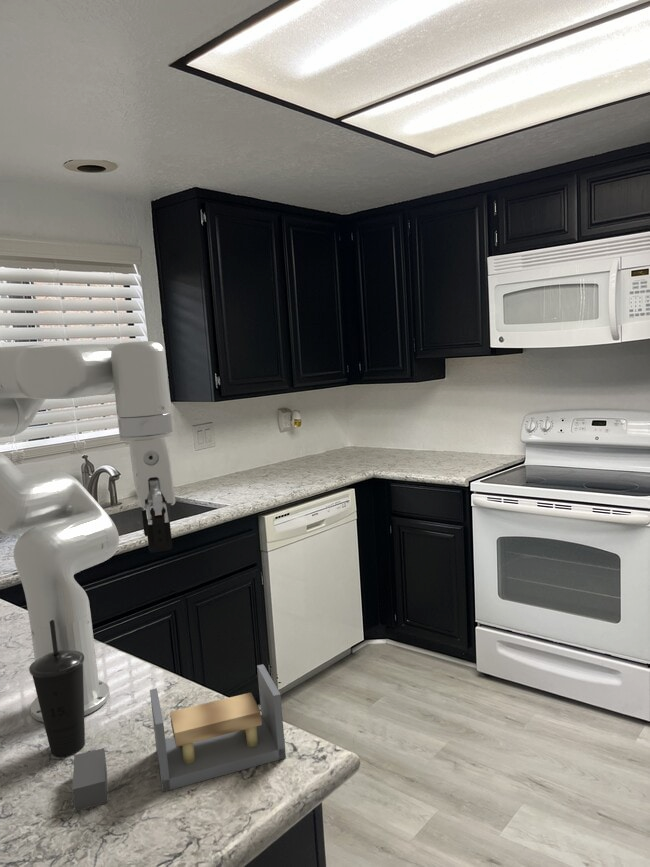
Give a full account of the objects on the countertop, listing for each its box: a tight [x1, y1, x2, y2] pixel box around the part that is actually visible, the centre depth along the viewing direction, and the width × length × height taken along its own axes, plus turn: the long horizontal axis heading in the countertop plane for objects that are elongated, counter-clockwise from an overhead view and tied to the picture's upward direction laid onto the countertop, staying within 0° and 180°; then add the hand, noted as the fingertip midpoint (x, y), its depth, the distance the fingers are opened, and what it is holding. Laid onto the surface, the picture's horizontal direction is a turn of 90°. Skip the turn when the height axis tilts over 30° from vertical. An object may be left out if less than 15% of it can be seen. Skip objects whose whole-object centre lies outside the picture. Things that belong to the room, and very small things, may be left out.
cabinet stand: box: [149, 663, 287, 793], centre depth 93 cm, size 10×17×10 cm, turn 109°
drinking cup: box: [28, 620, 86, 758], centre depth 97 cm, size 8×8×20 cm
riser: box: [71, 747, 108, 812], centre depth 88 cm, size 8×4×3 cm, turn 19°
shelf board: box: [169, 692, 262, 747], centre depth 93 cm, size 12×6×2 cm, turn 109°
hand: (157, 542), depth 96 cm, fingers open, 9 cm apart
